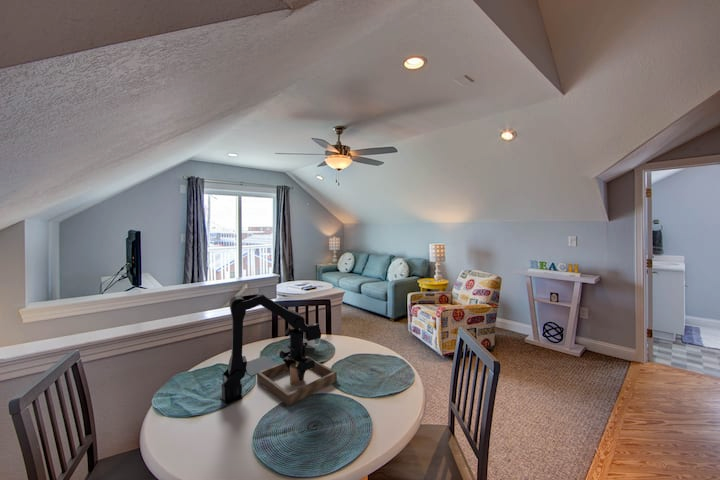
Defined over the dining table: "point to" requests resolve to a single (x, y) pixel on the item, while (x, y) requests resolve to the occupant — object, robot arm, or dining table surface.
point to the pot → (294, 375)
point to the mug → (311, 342)
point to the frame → (299, 393)
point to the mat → (259, 365)
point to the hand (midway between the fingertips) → (297, 377)
